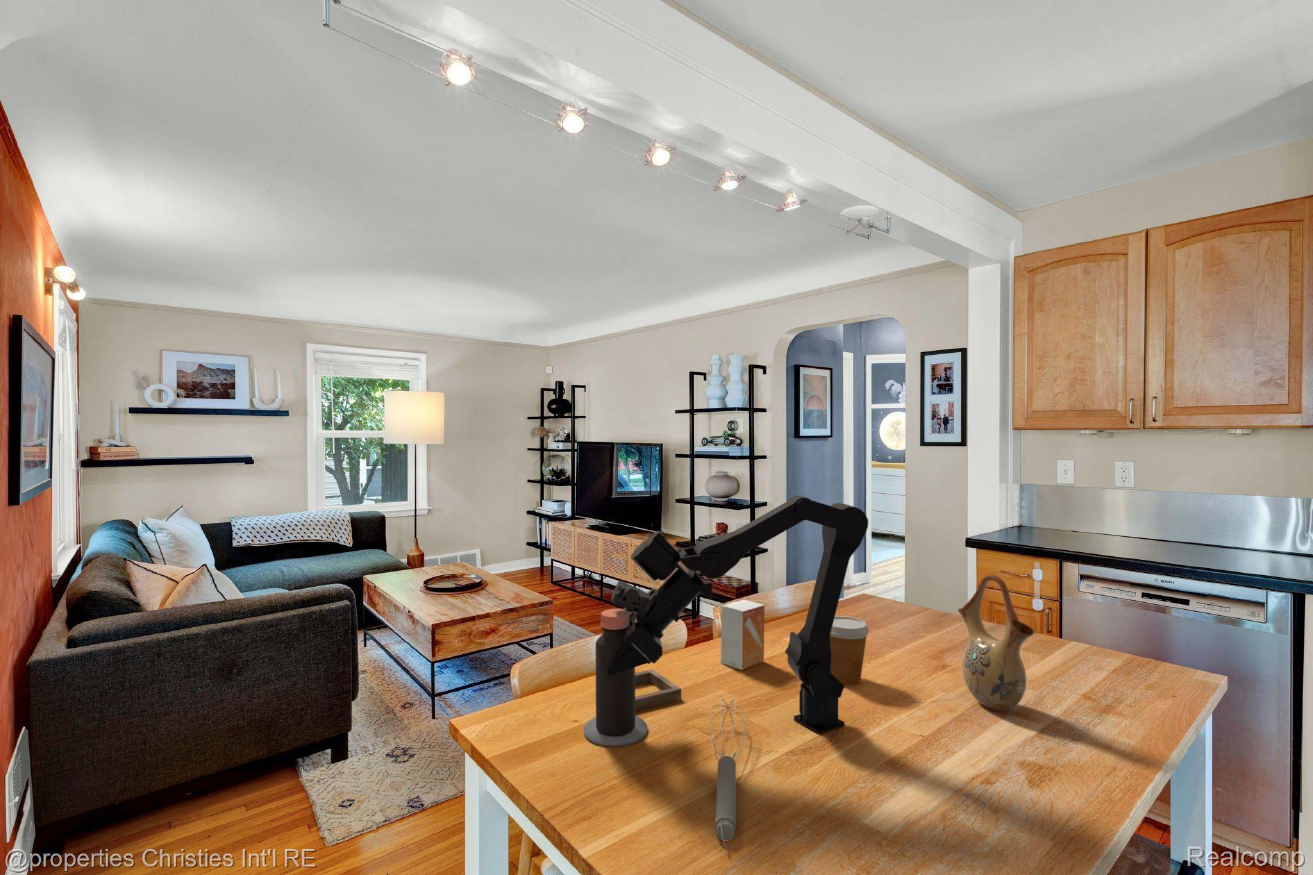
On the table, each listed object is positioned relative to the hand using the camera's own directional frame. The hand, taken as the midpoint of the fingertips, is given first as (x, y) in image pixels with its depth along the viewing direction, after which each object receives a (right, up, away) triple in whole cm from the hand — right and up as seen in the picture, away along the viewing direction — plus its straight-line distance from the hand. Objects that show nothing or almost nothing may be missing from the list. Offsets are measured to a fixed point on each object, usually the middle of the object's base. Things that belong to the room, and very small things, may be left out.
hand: (607, 663), depth 108 cm
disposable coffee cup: (+48, -12, +23) cm, 55 cm away
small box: (+28, -12, +33) cm, 44 cm away
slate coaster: (+1, -12, 0) cm, 12 cm away
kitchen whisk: (+19, -12, -14) cm, 27 cm away
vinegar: (+1, -11, 0) cm, 11 cm away
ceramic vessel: (+72, -12, +11) cm, 74 cm away
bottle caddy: (+5, -12, +15) cm, 20 cm away
